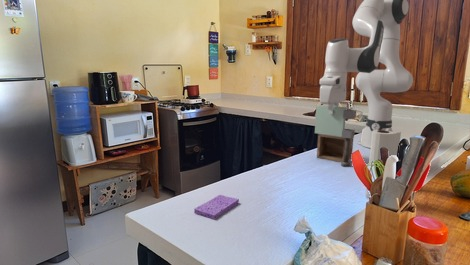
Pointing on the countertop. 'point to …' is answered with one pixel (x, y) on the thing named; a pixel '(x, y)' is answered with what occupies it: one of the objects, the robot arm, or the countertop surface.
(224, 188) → the countertop surface
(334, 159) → the walnut cabinet
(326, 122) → the cabinet door
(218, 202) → the sponges
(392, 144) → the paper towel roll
